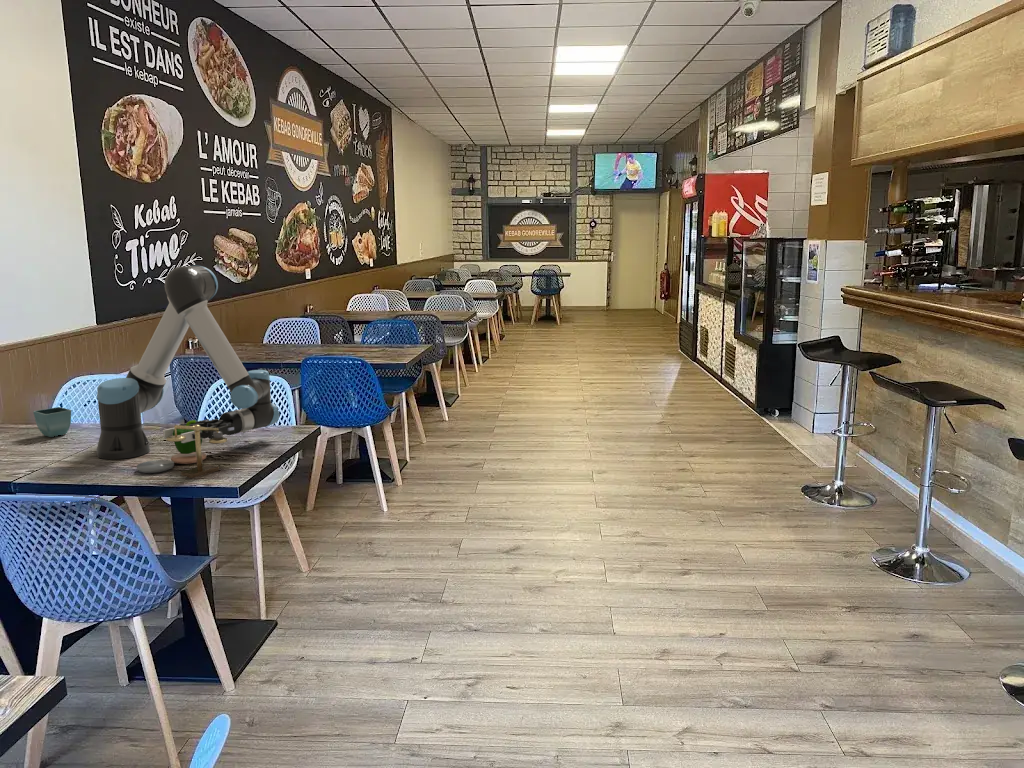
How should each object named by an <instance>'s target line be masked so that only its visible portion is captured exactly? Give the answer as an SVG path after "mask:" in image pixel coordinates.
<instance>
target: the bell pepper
mask: <svg viewBox="0 0 1024 768" xmlns="http://www.w3.org/2000/svg"><path fill="white" fill-rule="evenodd" d="M196 421H197V420H196V419H195V420H194V419H193V420H189V421H187V422H186V423H187V424H186V425H185V426H190V424H191V423H194V424H195V422H196ZM192 431H194V430H188V429H177V435H181V434H183V433H187V432H192ZM201 432H202V430H201ZM173 435H175V429H174V431H173ZM203 439H204V438H203V437H202V439H200V440H201V445H203ZM173 444H174V446H175V447H176V450H177V451H178V453H181V454H190V453H193V452H196V443H195V440H194V441H190V442H185V443H181V441H178V442H174V443H173Z"/></svg>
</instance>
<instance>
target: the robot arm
mask: <svg viewBox="0 0 1024 768" xmlns="http://www.w3.org/2000/svg"><path fill="white" fill-rule="evenodd" d="M218 282H219V281H218V278H217V276H216V275H215V274H214V272H213V271H212V270H211V269H209V268H207V267H205V266H202V265H196V264H194V265H190V266H189V265H188V266H187V265H184V266H178V267H177V266H176V267H174V268H172V270H170V271H169V273H168V274H167V275H166V277H165V279H164V291H165V293H166V297H167V301H168V305H167V306H166V309H165V311H164V312H163V315H162V316H161V319H160V321H159V322H158V325H157V327H156V328H155V331H154V332H153V334H152V335H151V336H152V337H151V338H150V340H149V343H148V344H147V346H146V349H145V350H144V352H143V354H142V356H141V358H140V359H139V362H138V364H136V365H134V366H131V367H130V368H129V371H128V373H127V374H126V376H125V377H118V378H112V379H108V380H105V381H102V382H100V384H98V386H97V389H96V390H97V392H96V399H97V405H98V414H99V416H98V417H99V423H100V434H99V438H98V442H97V446H96V457H97V458H100V459H103V460H123V459H124V460H125V459H130V458H131V459H132V458H135V457H140V456H144V455H146V454H148V453H150V451H151V446H150V445H151V444H150V442H149V440H148V438H147V435H146V433H145V431H144V430H143V429H144V428H143V424H142V414H143V413H145V412H146V411H147V412H148V411H149V410H152V409H154V408H155V407H156V406H157V405H159V403H160V402H161V401H162V399H163V396H164V392H165V391H164V387H165V385H166V383H167V380H166V377H165V375H166V373H167V371H168V368H169V366H170V364H171V363H172V361H173V359H174V358H175V356H176V355H175V354H176V353H177V351H178V349H179V347H180V346H181V344H182V341H183V340H184V338H185V335H186V334H187V332H188V330H189V328H190V329H191V331H192V332H193V334H194V336H195V337H196V339H197V341H198V342H199V344H200V345H201V347H202V348H203V350H204V352H205V353H206V355H207V357H208V358H209V360H210V361H211V362H212V363H211V364H213V366H214V367H215V369H216V370H217V372H218V374H219V375H220V377H221V379H222V381H224V384H225V385H226V386H227V388H228V391H230V398H229V399H230V402H231V403H232V405H233V406H234V407H236V408H238V409H235V410H231V411H227V412H223V413H221V415H220V416H219V419H218V418H214V419H211V420H210V419H209V418H206V419H202V420H198V421H197V420H195V421H196V422H195V424H194V423H191V424H190V426H194V425H200V426H201V427H210V428H218V429H219V430H218V431H222V434H223V436H224V435H225V436H232V435H237V434H239V433H243V434H246V432H247V431H252V430H256V429H261V428H267V427H269V426H272V425H274V424H276V423H277V422H278V421H279V418H280V411H279V408H278V406H277V405H276V404H275V403H272V399H271V397H272V395H271V379H270V373H269V371H268V370H266V369H252V370H247V369H246V367H245V366H244V365H243V363H242V361H241V359H240V358H239V356H238V354H237V353H236V351H235V349H234V348H233V346H232V345H231V343H230V342H229V340H228V338H227V336H226V335H225V333H224V331H223V330H222V329H221V327H220V325H219V323H218V322H217V320H216V319H215V316H213V314H212V312H211V311H210V308H209V307H208V303H209V302H208V301H210V300H212V299H213V297H214V296H216V294H217V292H218V289H219V283H218ZM186 424H187V422H186V423H180V424H179V425H181V426H185V425H186ZM173 431H174V427H171V428H166V429H163V430H162V433H163V434H162V435H163V439H164V440H167V439H166V438H167V437H169V436H173ZM213 432H216V431H204V430H202V432H201V430H200V439H202V437H203V439H207V438H208V439H209V440H210V439H212V438H213ZM181 435H185V436H186V439H185V440H183V441H181V443H185V442H190V441H194V440H195V431H192V432H187V433H183V434H181ZM203 439H202V440H203Z"/></svg>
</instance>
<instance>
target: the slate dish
mask: <svg viewBox="0 0 1024 768" xmlns="http://www.w3.org/2000/svg"><path fill="white" fill-rule="evenodd" d="M174 467H175V463H174V462H173V461H171V459H170V460H169V459H154V460H149V461H148V460H147V461H144V462H140V463H138V464H137V465H136V470H137V472H139V473H144V474H157V473H164V472H165V471H168V470H171V469H173V468H174Z"/></svg>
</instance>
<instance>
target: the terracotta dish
mask: <svg viewBox="0 0 1024 768" xmlns="http://www.w3.org/2000/svg"><path fill="white" fill-rule="evenodd" d="M201 454H202V461H205V460H206V459H207V453H206V452H204V451H201ZM170 460H171V461H173V462H174V464H179V465H190V464H191V465H192V464H197V457H196V452H193V453H190V454H181V453H180V452H178V453H176V454H174V455H172V456H171V457H170Z"/></svg>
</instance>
